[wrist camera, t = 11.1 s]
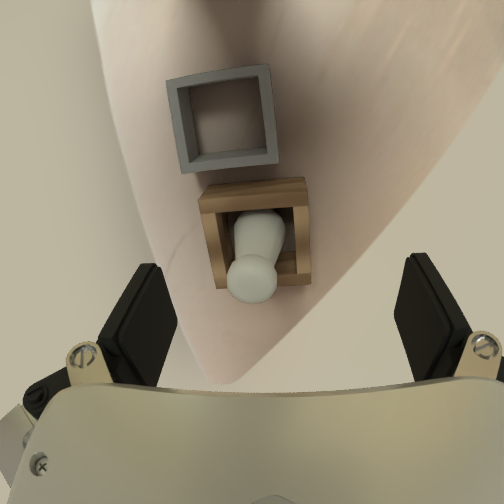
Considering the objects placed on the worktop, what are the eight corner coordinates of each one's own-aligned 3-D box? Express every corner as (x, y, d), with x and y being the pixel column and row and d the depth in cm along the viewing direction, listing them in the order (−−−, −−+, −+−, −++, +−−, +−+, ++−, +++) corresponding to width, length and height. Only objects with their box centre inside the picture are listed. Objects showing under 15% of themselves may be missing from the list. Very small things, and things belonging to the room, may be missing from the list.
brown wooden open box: (208, 185, 35) (197, 200, 30) (304, 177, 33) (307, 191, 29) (223, 265, 40) (216, 288, 36) (308, 261, 39) (311, 284, 34)
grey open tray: (178, 81, 29) (165, 80, 26) (269, 67, 28) (267, 63, 24) (192, 164, 34) (181, 174, 30) (279, 155, 32) (279, 163, 29)
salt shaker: (280, 195, 35) (279, 253, 23) (290, 240, 37) (292, 310, 26) (231, 205, 36) (206, 264, 25) (243, 248, 38) (226, 318, 27)
